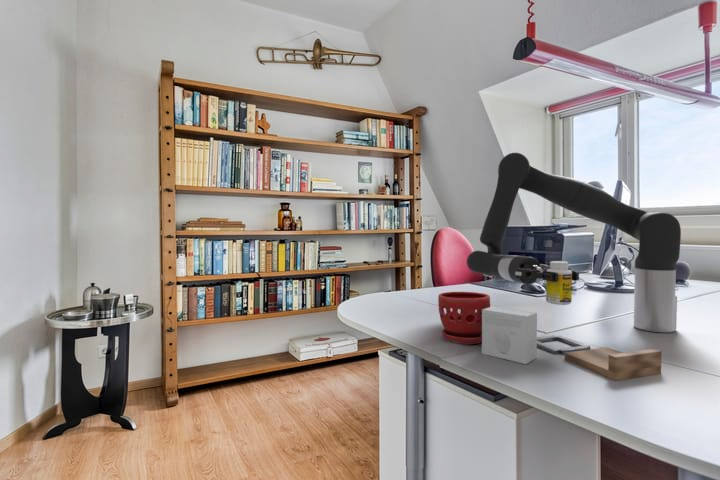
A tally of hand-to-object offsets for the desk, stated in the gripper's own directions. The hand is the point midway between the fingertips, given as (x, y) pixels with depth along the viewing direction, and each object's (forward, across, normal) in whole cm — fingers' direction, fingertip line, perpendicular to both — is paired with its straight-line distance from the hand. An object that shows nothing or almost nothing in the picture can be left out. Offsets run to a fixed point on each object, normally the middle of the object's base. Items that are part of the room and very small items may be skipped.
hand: (567, 276), depth 89 cm
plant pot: (-15, -19, +18) cm, 30 cm away
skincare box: (-1, -16, +18) cm, 24 cm away
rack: (+11, 0, +17) cm, 21 cm away
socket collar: (-3, 0, +18) cm, 18 cm away
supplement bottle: (-3, 0, +7) cm, 7 cm away
